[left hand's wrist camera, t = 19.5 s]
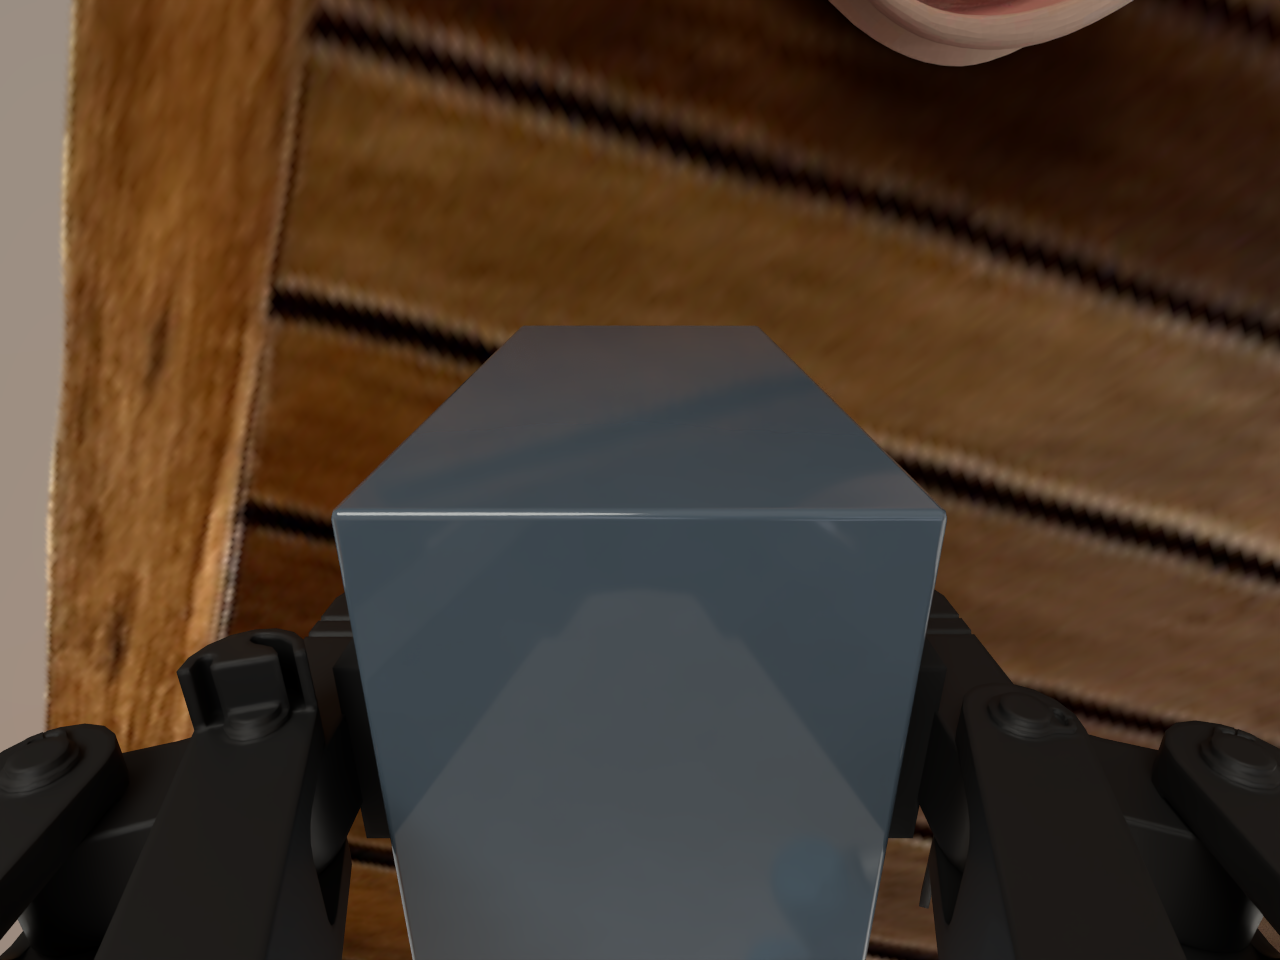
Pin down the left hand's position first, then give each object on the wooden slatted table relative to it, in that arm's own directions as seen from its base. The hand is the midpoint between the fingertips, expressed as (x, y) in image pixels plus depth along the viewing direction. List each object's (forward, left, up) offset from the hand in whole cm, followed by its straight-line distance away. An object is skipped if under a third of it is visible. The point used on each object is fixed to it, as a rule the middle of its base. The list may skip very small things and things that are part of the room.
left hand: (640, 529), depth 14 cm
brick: (0, 0, -3) cm, 3 cm away
